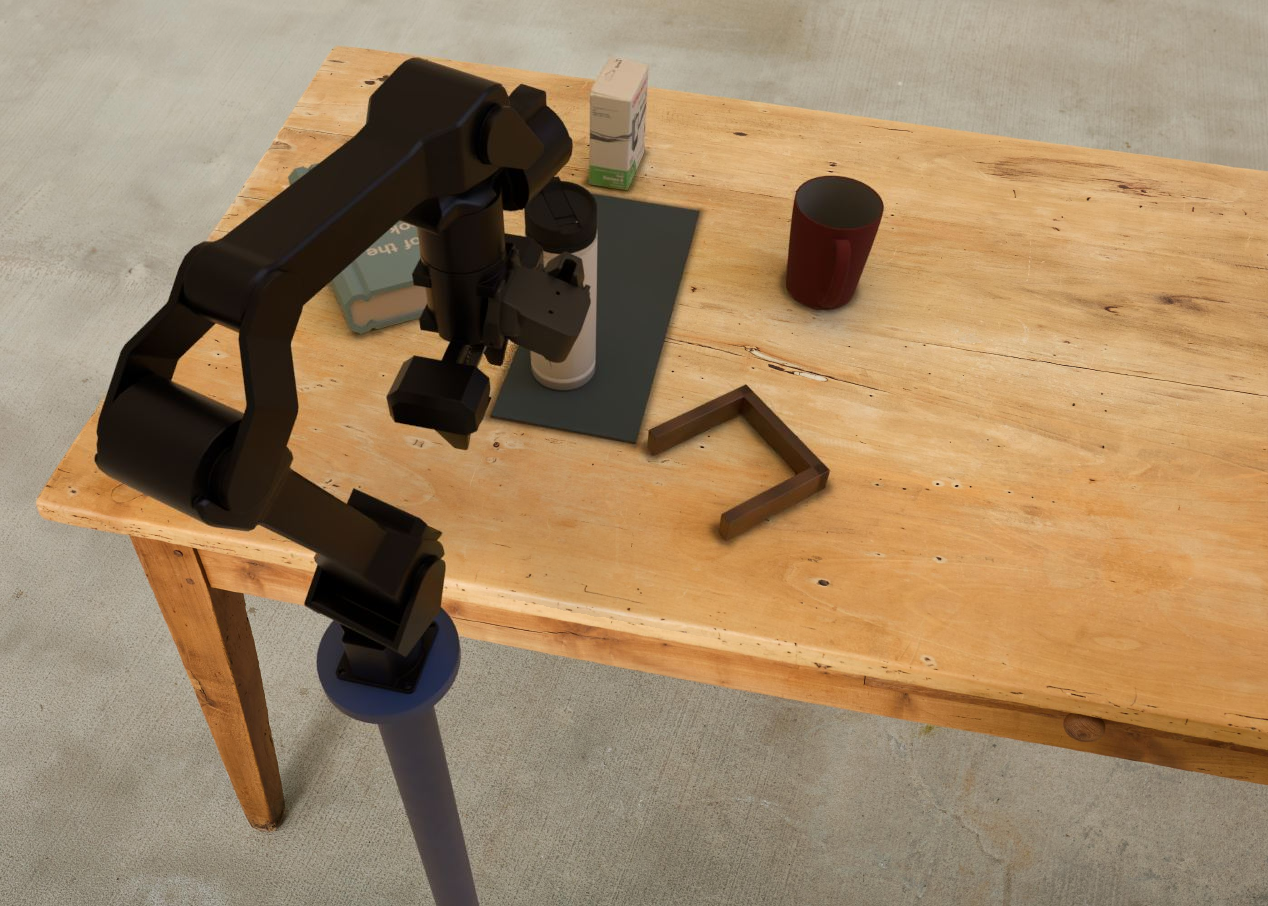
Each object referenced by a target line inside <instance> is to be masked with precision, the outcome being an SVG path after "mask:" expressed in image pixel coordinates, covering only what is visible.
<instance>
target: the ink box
mask: <svg viewBox="0 0 1268 906" xmlns="http://www.w3.org/2000/svg"><path fill="white" fill-rule="evenodd" d="M649 70H650V65H649V64H647V63H643V62H637V61H632V60H627V59H622V58H617V57H609V58H607V60H606V63H605V64H604V66H603V67H602V69H601V71H600V72H599V74H598V76H597V77H596V79H595V81H594V82H593V84H592V86H591V87H590V92H589V141H588V142H589V145H588V147H589V150H588V151H589V153H588V156H589V157H588V166H589V167H588V169H589V171H588V175H589V177H588V178H589V179H588V182H589V185H593V186H597V187H598V186H599V187H604V188H609V189H616V190H623V191H628V190H629V188H630V185H631V183H632V182H633V179H634V176H635V175H636V171H637V170H638V167H639V165H640V163H641V160H642V158H643V156H644V154H645V140H646V138H645V137H646V124H647V123H646V122H647V104H648V103H647V102H648V85H649V84H648V83H649Z"/></svg>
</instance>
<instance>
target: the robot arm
mask: <svg viewBox="0 0 1268 906" xmlns="http://www.w3.org/2000/svg"><path fill="white" fill-rule="evenodd" d="M547 104H548V103H547V91H546V90H543V89H540V88H537V87H534V86H531V85H527V84H524V83H520V84H519V85H518V86H517V87H516V88H514V89H513V90H512V91H511V93H510V94H508V92H507V90H506V87H504V86H503V84H502V83H500V82H498V81H494V80H491V79H488V78H484V77H481V76H478V75H475V74H473V73H469V72H466V71H462V70H460V69H457V68H453V67H450V66H447V65H444V64H440V63H437V62H435V61H432V60H429V59H425V58H423V57H410V58H408V59H406V60H404V61H403V62H402V63H401V64H400V65H399V66H398V67H396V68H395V70H394V71H393V72H392V73H390V75H388V77H387V78H385V80H384V81H383V82H382V83H381V84H380V85H379V86H378V87H377V89H375V91H373V93H371V94H370V96H369V98H368V104H367V111H366V118H365V124H364V125H363V126H362V127H361V128H360V129H359V130H358V132H356V134H355V135H354V136H352V137H351V138H350V139H349V140H347V141H346V142H345V143H343V144H342V145H341V146H340V147H338V148H337V149H336V150H334V151H333V152H332V153H330V154H329V155H328V156H327V157H325V158H324V159H322V160H321V161H320V162H318V163H319V164H318V165H316V166H315V167H314V168H312V169H311V170H310V171H308V172H307V173H306V174H304V175H303V176H302V177H301V178H299V179H298V180H297V181H295V182H294V183H293V184H291V185H290V184H289V186H288V187H286V188H285V189H283V190H282V191H280V192H279V193H278V194H277V195H275V196H274V197H273V198H272V199H270V200H269V201H268V202H267V203H265V204H264V205H263V206H261V207H260V208H259V209H258V210H256V211H255V212H253V213H252V214H251V215H250V216H248V217H247V218H246V219H244V220H243V221H242V222H240V223H239V224H238V225H237V226H235V227H233V229H232V230H230V231H229V232H228V233H226V234H225V235H224V236H222V237H221V238H218V239H216V240H213V241H212V240H211V241H210V240H209V241H208V240H203V241H202V242H199V243H197V244H195V245H193V246H192V248H191V249H189V250H188V252H187V253H185V255H184V257H183V258H182V261H181V263H180V264H179V267H178V269H177V272H176V275H175V278H174V281H173V284H172V287H171V290H170V292H169V296H168V299H167V302H166V303H165V304H164V305H163V306H162V307H161V308H159V310H158V311H157V312H156V313H155V314H154V315H153V316H152V317H151V318H149V320H148V321H146V322H145V324H143V326H142V327H141V328H140V329H139V330H138V331H136V333H134V335H133V336H132V337H130V339H128V341H126V343H125V344H124V345H123V347H122V348H121V350H120V352H119V356H118V358H117V362H116V365H115V367H114V370H113V374H112V376H111V380H110V383H109V386H108V389H107V392H106V395H105V398H104V401H103V404H102V406H101V411H100V413H99V417H98V419H97V425H96V431H95V432H96V436H97V439H96V444H95V445H96V453H95V454H94V458H93V460H94V463H95V465H96V467H97V468H98V470H100V471H101V472H102V473H103V474H105V476H107V477H108V478H111V479H112V480H114V481H117V482H118V483H121V484H122V485H125V486H127V487H129V488H131V489H133V490H135V491H136V492H139V493H141V494H143V495H145V496H147V497H149V498H151V499H154V500H155V501H157V502H160V503H162V504H163V505H166V506H167V507H170V508H172V509H174V510H176V511H178V512H180V513H181V514H183V515H184V514H185V515H186V516H188V517H190V518H193V519H195V520H197V521H198V522H200V523H203V524H205V525H207V526H209V527H211V528H212V527H213V528H217V529H223V530H224V529H225V530H231V531H233V530H234V531H240V532H250V531H253V530H255V529H256V528H257V526H260V527H262V528H264V529H266V530H268V531H270V532H272V533H275V534H276V535H278V536H281V537H283V538H285V539H286V540H288V541H290V542H293V543H295V544H296V545H299V546H301V547H303V548H305V549H307V550H309V551H311V552H313V553H315V554H314V556H313V560H314V562H315V563H316V567H315V571H314V573H313V576H312V579H311V582H310V586H309V588H308V591H307V593H306V596H305V600H304V602H303V606H304V607H306V608H307V609H309V610H311V611H312V612H314V613H316V614H318V615H322V616H324V617H326V618H328V619H331V621H333V620H334V621H336V622H338V623H340V624H341V628H342V631H343V634H344V635H343V638H342V642H343V645H344V648H345V651H344V653H343V656H342V658H341V660H340V662H339V665H338V667H337V669H336V672H335V673H336V676H337V678H338V679H340V680H343V681H348V682H353V683H357V684H362V685H367V686H371V687H376V688H381V689H386V690H390V691H395V692H400V693H404V694H412V693H414V692H415V690H416V688H417V685H418V683H419V680H420V677H421V675H422V672H423V670H424V667H425V664H426V662H427V659H428V656H429V654H430V651H431V648H432V646H433V643H434V641H435V638H436V635H437V633H438V630H439V626H438V623H437V622H435V621H433V620H434V619H435V617H436V616H437V614H438V613H439V612H440V609H441V607H442V601H443V594H444V585H445V579H446V569H447V565H446V561H445V560H444V559H443V557H444V556H445V548H444V545H443V544H442V543H441V541H439V539H440V538H441V537H442V535H443V531H441V530H439V529H437V528H434V527H432V526H431V525H428V523H426V522H425V521H424V520H423V519H422V518H421V517H419V516H416V515H414V514H412V513H410V512H407V511H405V510H403V509H401V508H399V507H397V506H395V505H392V504H390V503H388V502H386V501H384V500H382V499H379V498H377V497H376V496H375V497H374V496H373V495H370V494H368V493H366V492H364V491H361V490H359V489H358V488H355V487H352V490H351V492H350V494H349V497H348V499H347V501H346V502H345V501H343V500H342V499H340V498H338V497H337V496H335V495H334V494H333V493H331V492H329V491H327V490H326V489H324V488H322V487H321V486H319V485H317V484H316V483H315V482H313V481H311V480H310V479H308V478H306V477H305V476H303V475H302V474H300V473H299V472H297V471H295V470H294V469H292V467H291V466H292V464H293V461H294V455H293V452H292V450H291V449H290V448H289V447H288V445H289V441H290V438H291V436H292V433H293V429H294V427H295V424H296V422H297V417H298V415H299V407H300V406H299V398H298V397H299V396H298V391H297V381H296V374H295V367H294V357H293V351H292V349H293V348H292V342H293V339H294V336H295V334H296V331H297V328H298V324H299V321H300V318H301V316H302V313H303V308H304V306H305V305H306V304H307V303H308V302H310V301H311V300H312V299H313V298H314V297H315V296H317V294H318V293H319V292H321V291H322V290H323V289H324V288H325V287H326V286H328V285H329V284H330V282H331V281H332V280H333V279H334V278H335V277H336V276H337V275H339V274H340V273H341V272H342V271H343V270H344V269H345V268H346V267H348V266H349V265H350V264H351V263H352V262H353V261H354V260H356V259H357V258H358V257H359V256H360V255H361V254H362V253H363V252H365V251H366V250H367V249H368V248H369V247H370V246H371V245H372V244H374V243H375V242H376V241H377V240H378V239H379V238H380V237H382V236H383V235H384V234H385V233H386V232H387V231H388V230H389V229H391V228H392V227H393V226H394V225H395V224H396V223H397V222H398V221H402V222H404V223H407V224H410V225H413V226H415V227H417V233H418V240H419V247H420V255H421V258H420V260H419V261H418V263H417V265H416V267H415V269H414V271H413V273H412V278H413V284H414V286H420V287H425V290H426V296H427V305H426V307H425V309H424V310H423V312H422V314H421V316H420V318H418V322H419V328H420V331H425V332H430V333H436V334H438V336H439V338H441V339H442V340H444V341H446V342H449V343H448V345H447V347H446V349H445V351H444V353H443V356H442V357H441V359H436V358H431V357H426V356H422V355H421V356H420V355H412V356H411V357H409V358H408V359H407V360H405V361H404V362H402V364H401V365H400V368H399V370H398V373H397V374H396V377H395V378H394V380H393V382H392V383H391V386H390V388H389V390H388V392H387V395H385V397H386V402H387V408H388V412H389V416H390V418H391V419H392V421H393V422H394V423H396V424H400V425H407V426H412V427H417V428H422V429H428V430H434V431H435V432H436V433H437V434H438V435H440V436H441V438H442V439H443V440H444V441H446V442H447V443H448V444H449V445H450V446H451V447H452V448H453V449H456V450H461V451H468V450H469V447H470V442H471V436H472V434H474V433H477V432H478V431H479V428H480V426H481V424H482V422H483V420H484V418H485V415H486V413H487V411H488V408H489V405H490V403H491V400H492V397H491V390H492V389H491V378H490V377H489V376H488V375H486V374H485V372H483V370H481V369H480V368H479V365H480V363H481V361H482V359H483V356H484V357H485V359H486V361H487V362H488V364H489V365H491V366H497V367H501V366H503V364H504V362H505V357H506V353H507V350H508V345H509V341H510V342H511V343H513V344H515V345H517V346H518V345H519V346H521V347H524V348H526V349H528V350H530V351H533V352H535V353H537V354H540V355H542V356H544V358H545V359H546V360H548V361H551V362H554V363H561V362H564V361H565V360H566V358H567V357H568V355H569V353H570V351H571V349H572V347H573V345H574V343H575V341H576V340H577V338H578V336H579V334H580V332H581V330H582V327H583V324H584V321H585V318H586V316H587V313H588V310H589V307H590V304H591V299H590V292H589V290H590V287H591V286H589V285H587V284H586V285H585V287H584V285H583V282H584V279H585V275H584V268H583V262H582V259H581V258H579V257H577V256H575V255H573V254H571V253H568V252H563V253H561V254H560V255H558V256H556V257H555V258H553V259H551V260H550V261H548V263H547V265H546V267H544V254H543V248H542V247H541V246H540V245H539V244H538V243H537V242H536V241H535V240H534V239H532V238H531V237H525V235H518V234H513V233H506V232H505V217H504V211H505V212H516V211H524V208H525V207H526V206H527V205H528V204H529V203H530V202H531V201H532V200H533V198H534V197H535V196H536V195H537V194H538V193H539V192H540V191H541V190H542V189H543V188H544V187H545V186H546V185H547V184H548V183H549V182H550V181H551V180H552V178H553V177H556V175H557V174H558V173H560V171H561V170H562V169H563V168H564V167H565V166H566V165H567V164H568V163H569V162H570V159H571V158H572V155H573V149H574V144H573V138H572V137H571V135H570V133H569V130H568V129H567V127H566V125H565V123H564V121H563V120H562V118H560V116H559V114H558V113H556V111H554V110H553V109H552V108H551V107H550V106H548V105H547ZM216 324H217V325H219V326H221V327H224V328H226V329H229V330H231V331H233V332H236V333H238V339H237V340H238V348H239V355H240V363H241V364H240V365H241V372H242V380H243V381H242V382H243V388H244V397H245V404H246V405H245V408H244V412H242V411H240V410H238V409H236V408H234V407H231V406H230V405H227V404H225V403H223V402H221V401H218V400H216V399H213V398H211V397H209V396H208V395H205V394H203V393H200V392H198V391H196V390H193V389H192V388H189V387H188V386H185V385H183V384H181V383H178V382H177V381H174V380H173V377H174V374H175V372H176V368H177V365H178V364H179V363H178V362H179V360H180V359H181V358H182V357H183V356H184V355H185V354H186V353H187V352H188V351H189V350H190V349H191V348H192V347H193V346H195V344H196V343H197V342H199V341H200V340H201V339H202V338H203V337H204V336H205V335H206V334H207V333H208V332H209V331H210V330H211V329H212V328H213V327H214V326H215V325H216ZM431 626H434V627H435V628H434V629H430V627H431ZM342 671H344V672H345V673H344V674H343V675H340V673H341V672H342ZM407 686H412V688H411V689H407Z"/></svg>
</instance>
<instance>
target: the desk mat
mask: <svg viewBox="0 0 1268 906" xmlns="http://www.w3.org/2000/svg"><path fill="white" fill-rule="evenodd" d="M591 194H592V195H593V197H594V198H595V200H596V203H597V296H596V357H595V373H594V375H593V377H592V378H591V379H590V380H589V381H588V382H587V383H586V384H585V385H583V386H581V387H579V388H576V389H573V390H554V389H550V388H548V387H546V386H543V385H542V384H541V383H539V382H538V381H537V380H536V379H535V377H534V376H533V373H532V370H531V351H530V350H528V349H526V348H524V347H521V346H519V345H517V348H516V351H515V352H514V356H513V357H512V361H511V362H510V365H509V368H508V370H507V372H506V375H505V378H504V379H503V383H502V385H501V387H500V390H499V393H498V395H497V397H496V400H495V402H494V405H493V408H492V410H491V412H490V414H489V416H490V417H489V418H491V419H497V420H498V419H499V420H503V421H508V422H509V421H510V422H513V423H514V422H515V423H521V424H526V425H531V426H535V427H542V428H547V429H553V430H557V431H563V432H568V433H574V434H579V435H585V436H590V437H595V438H602V439H607V440H612V441H618V442H624V443H627V444H628V443H629V444H635V445H636V444H637V441H638V437H639V433H640V430H641V426H642V423H643V418H644V415H645V411H646V409H647V404H648V401H649V397H650V393H651V390H652V387H653V382H654V380H655V375H656V372H657V368H658V364H659V361H660V358H661V354H662V350H663V346H664V343H665V339H666V336H667V331H668V328H669V324H670V320H671V318H672V313H673V310H674V306H675V302H676V300H677V295H678V293H679V289H680V285H681V282H682V278H683V273H684V270H685V266H686V263H687V259H688V256H689V252H690V249H691V245H692V242H693V241H692V240H693V238H694V234H695V230H696V227H697V223H698V219H699V216H700V210H696V209H691V208H684V207H679V206H678V207H677V206H673V205H667V204H659V203H654V202H653V203H652V202H648V201H647V202H646V201H642V200H641V201H640V200H634V199H628V198H623V197H616V196H615V197H614V196H611V195H605V194H604V195H603V194H596V193H591Z"/></svg>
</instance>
